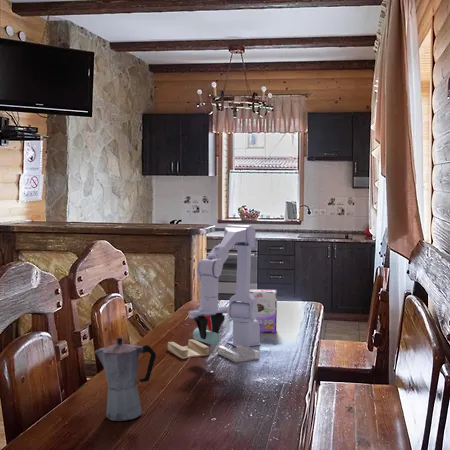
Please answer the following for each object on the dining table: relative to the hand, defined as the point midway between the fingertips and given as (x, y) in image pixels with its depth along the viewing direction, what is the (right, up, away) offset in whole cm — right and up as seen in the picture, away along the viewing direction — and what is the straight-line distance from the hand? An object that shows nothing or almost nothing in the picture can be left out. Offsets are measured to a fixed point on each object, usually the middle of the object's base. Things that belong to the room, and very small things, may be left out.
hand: (209, 337), depth 201 cm
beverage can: (-3, -7, +32) cm, 33 cm away
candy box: (+19, -6, +45) cm, 49 cm away
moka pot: (-20, -12, -43) cm, 49 cm away
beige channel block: (-8, -8, +14) cm, 18 cm away
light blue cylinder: (-1, 0, +2) cm, 2 cm away
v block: (+10, -8, +10) cm, 16 cm away
